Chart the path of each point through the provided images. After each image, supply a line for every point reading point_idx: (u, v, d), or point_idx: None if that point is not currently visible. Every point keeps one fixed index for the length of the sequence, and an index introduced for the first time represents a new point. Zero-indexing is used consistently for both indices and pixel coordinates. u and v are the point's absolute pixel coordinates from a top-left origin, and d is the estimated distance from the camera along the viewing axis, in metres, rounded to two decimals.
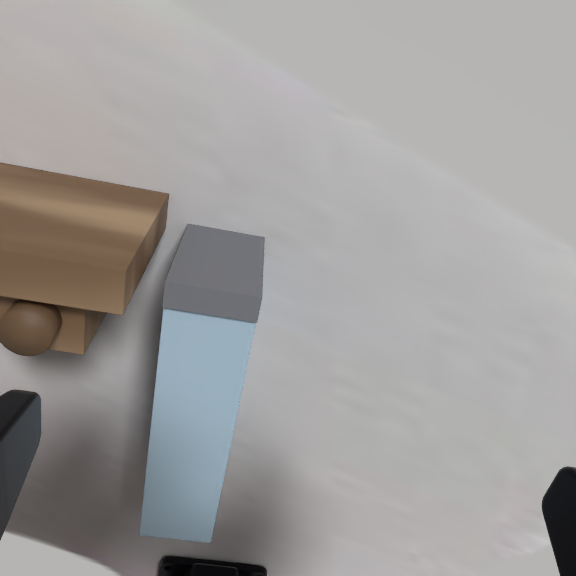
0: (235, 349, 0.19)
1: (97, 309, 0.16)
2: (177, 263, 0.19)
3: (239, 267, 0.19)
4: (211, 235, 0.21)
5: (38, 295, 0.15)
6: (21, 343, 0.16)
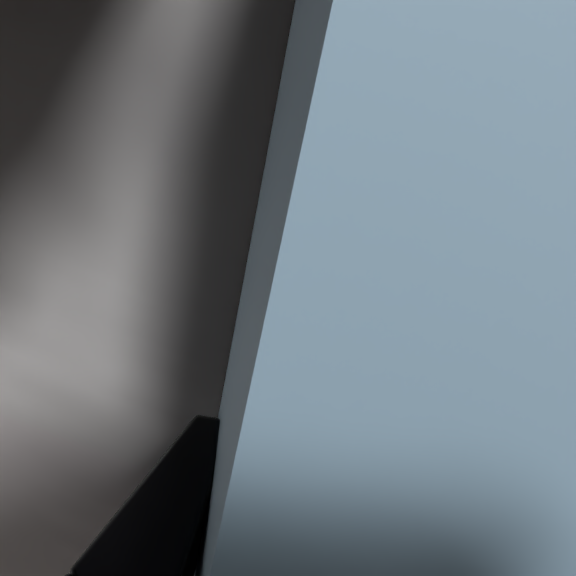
0: None
1: None
2: None
3: None
4: None
5: None
6: None
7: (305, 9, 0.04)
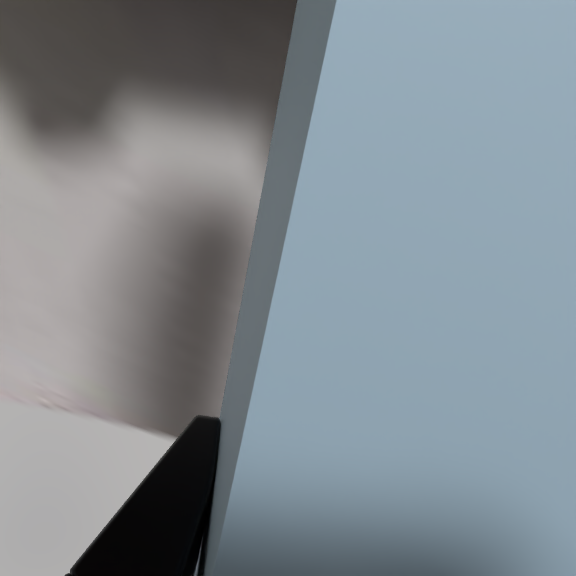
0: None
1: None
2: None
3: None
4: None
5: None
6: None
7: None
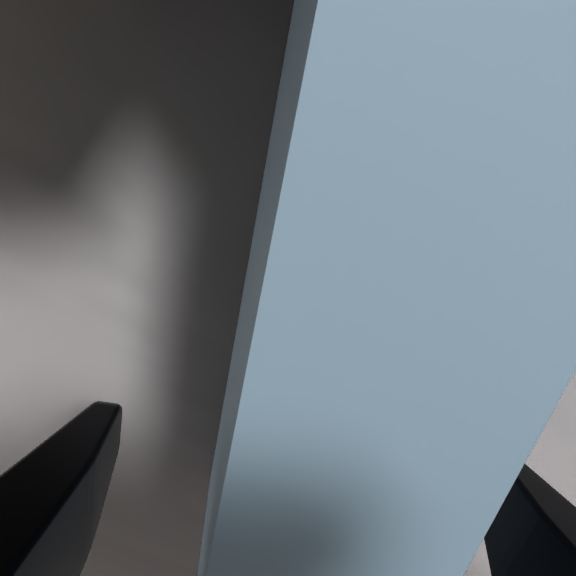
0: None
1: None
2: None
3: None
4: None
5: None
6: None
7: (298, 27, 0.06)
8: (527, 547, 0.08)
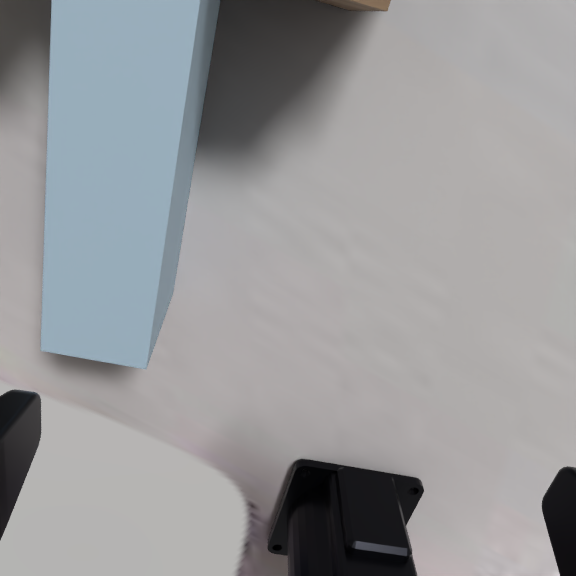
0: None
1: None
2: None
3: None
4: None
5: None
6: None
7: None
8: None
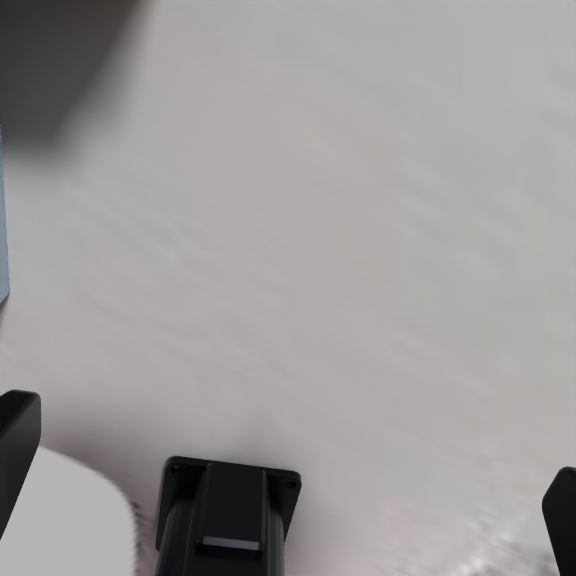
0: None
1: None
2: None
3: None
4: None
5: None
6: None
7: None
8: None
